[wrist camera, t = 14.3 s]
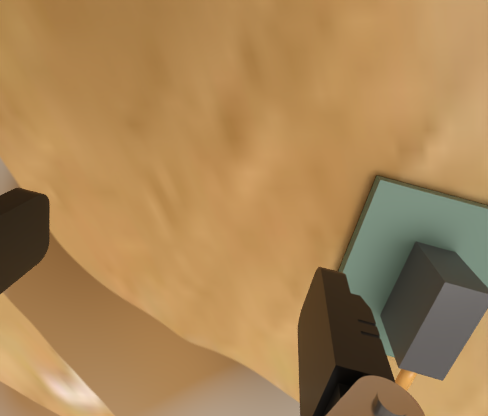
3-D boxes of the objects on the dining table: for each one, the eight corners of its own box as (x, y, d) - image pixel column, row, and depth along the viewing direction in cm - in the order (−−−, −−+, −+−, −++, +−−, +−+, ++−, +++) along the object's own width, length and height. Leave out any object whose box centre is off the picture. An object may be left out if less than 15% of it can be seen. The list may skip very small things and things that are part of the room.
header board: (376, 175, 33) (391, 194, 28) (526, 215, 33) (569, 242, 27) (316, 325, 40) (319, 363, 35) (439, 361, 39) (461, 404, 34)
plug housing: (415, 241, 33) (445, 282, 27) (455, 252, 33) (495, 296, 27) (366, 342, 38) (381, 398, 31) (401, 352, 38) (424, 411, 31)
